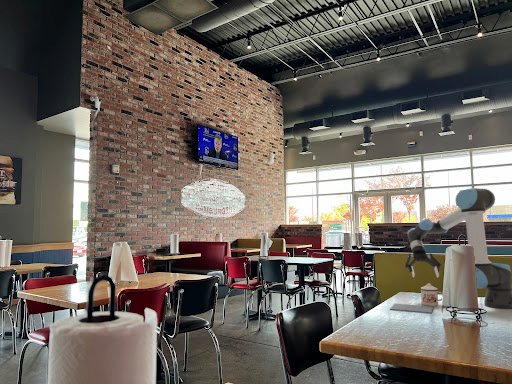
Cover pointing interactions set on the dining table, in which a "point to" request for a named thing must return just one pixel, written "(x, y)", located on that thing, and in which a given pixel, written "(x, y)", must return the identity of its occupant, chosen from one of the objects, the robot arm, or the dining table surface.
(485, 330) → the dining table surface
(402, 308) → the mat
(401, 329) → the dining table surface
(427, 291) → the teacup with lid
